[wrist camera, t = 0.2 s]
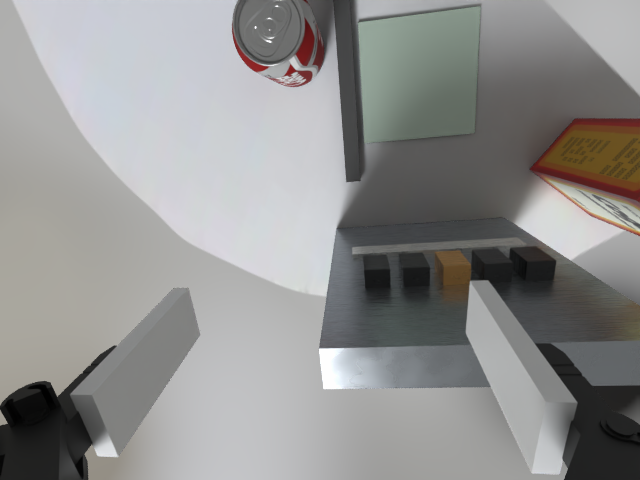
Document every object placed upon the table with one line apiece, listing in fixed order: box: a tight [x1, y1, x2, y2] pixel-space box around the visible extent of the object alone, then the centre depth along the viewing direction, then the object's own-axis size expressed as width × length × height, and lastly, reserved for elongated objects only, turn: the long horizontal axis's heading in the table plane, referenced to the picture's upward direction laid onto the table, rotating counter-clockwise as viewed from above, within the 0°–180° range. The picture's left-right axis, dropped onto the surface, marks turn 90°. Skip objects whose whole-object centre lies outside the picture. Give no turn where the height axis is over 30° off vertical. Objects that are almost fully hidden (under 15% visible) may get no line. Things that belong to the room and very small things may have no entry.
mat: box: [358, 6, 481, 143], centre depth 37 cm, size 12×12×1 cm
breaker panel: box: [319, 218, 640, 389], centre depth 31 cm, size 5×20×24 cm, turn 95°
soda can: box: [232, 0, 324, 87], centre depth 32 cm, size 7×7×12 cm
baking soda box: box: [529, 119, 640, 236], centre depth 31 cm, size 10×6×16 cm
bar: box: [333, 0, 360, 182], centre depth 37 cm, size 20×2×2 cm, turn 5°
